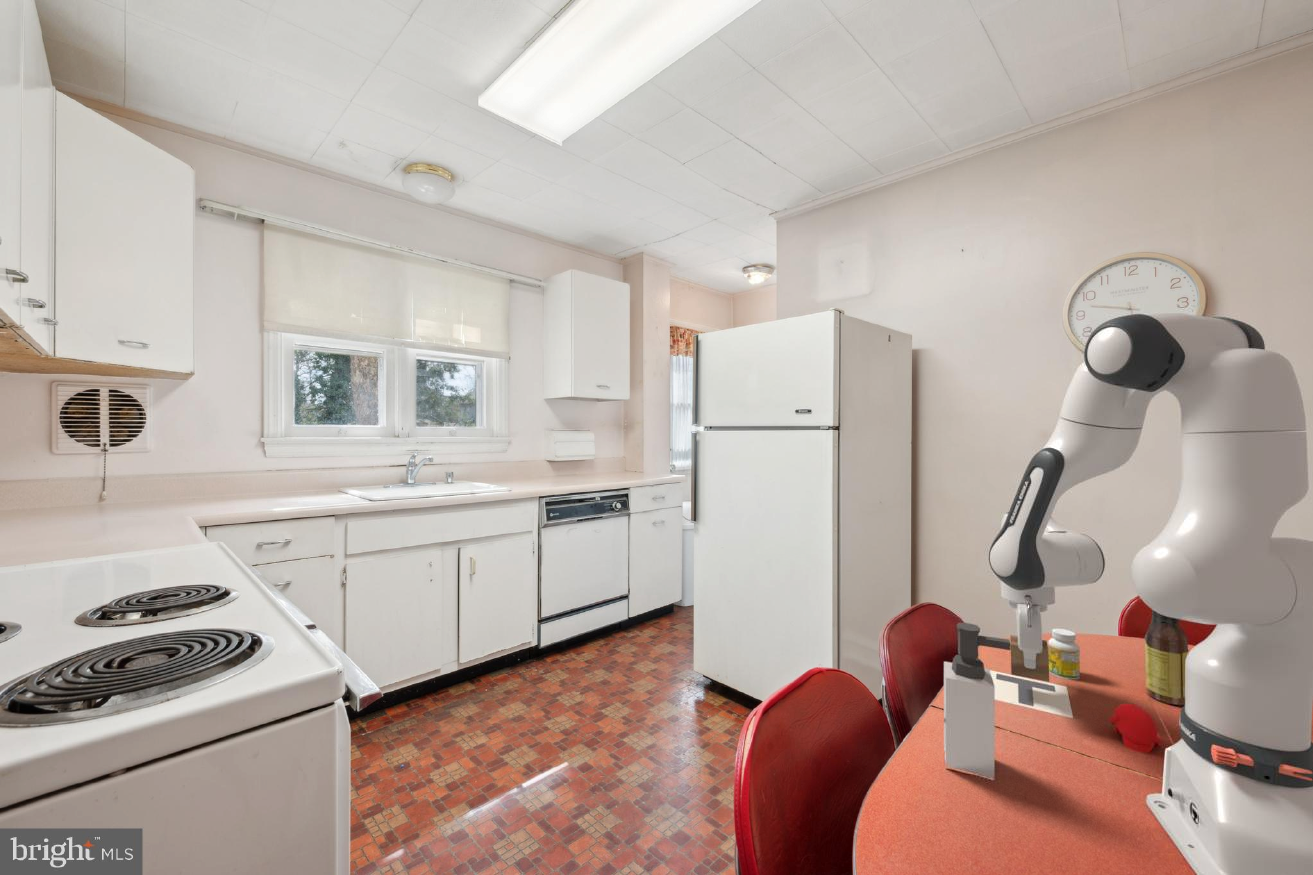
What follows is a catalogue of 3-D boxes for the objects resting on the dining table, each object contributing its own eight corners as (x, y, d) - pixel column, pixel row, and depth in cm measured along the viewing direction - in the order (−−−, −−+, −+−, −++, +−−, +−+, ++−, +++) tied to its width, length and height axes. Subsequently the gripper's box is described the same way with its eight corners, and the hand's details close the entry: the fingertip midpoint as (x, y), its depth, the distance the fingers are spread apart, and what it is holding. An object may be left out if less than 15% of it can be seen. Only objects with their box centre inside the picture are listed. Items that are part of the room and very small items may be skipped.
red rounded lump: (1104, 707, 94) (1100, 700, 91) (1147, 705, 91) (1144, 698, 88) (1124, 759, 90) (1121, 754, 86) (1170, 759, 86) (1169, 754, 83)
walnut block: (1049, 681, 100) (1048, 650, 100) (1011, 674, 103) (1010, 643, 103) (1047, 670, 105) (1046, 640, 105) (1011, 664, 108) (1010, 634, 108)
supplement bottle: (1084, 683, 110) (1084, 638, 109) (1053, 679, 111) (1053, 634, 111) (1073, 672, 115) (1073, 628, 114) (1044, 668, 116) (1044, 625, 116)
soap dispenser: (1012, 785, 79) (1013, 639, 78) (945, 768, 83) (946, 630, 82) (1006, 760, 85) (1006, 625, 84) (943, 746, 88) (943, 616, 88)
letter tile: (1073, 721, 96) (1073, 718, 96) (982, 699, 103) (982, 696, 103) (1066, 689, 107) (1066, 686, 107) (985, 672, 115) (985, 669, 115)
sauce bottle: (1170, 691, 106) (1171, 594, 106) (1199, 708, 100) (1200, 604, 99) (1135, 690, 107) (1136, 593, 106) (1162, 706, 100) (1162, 603, 100)
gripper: (1050, 605, 94) (1052, 683, 94) (1043, 581, 111) (1045, 647, 111) (1008, 600, 98) (1010, 675, 97) (1008, 578, 115) (1009, 642, 114)
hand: (1029, 660), depth 104 cm, fingers closed on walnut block, 6 cm apart
